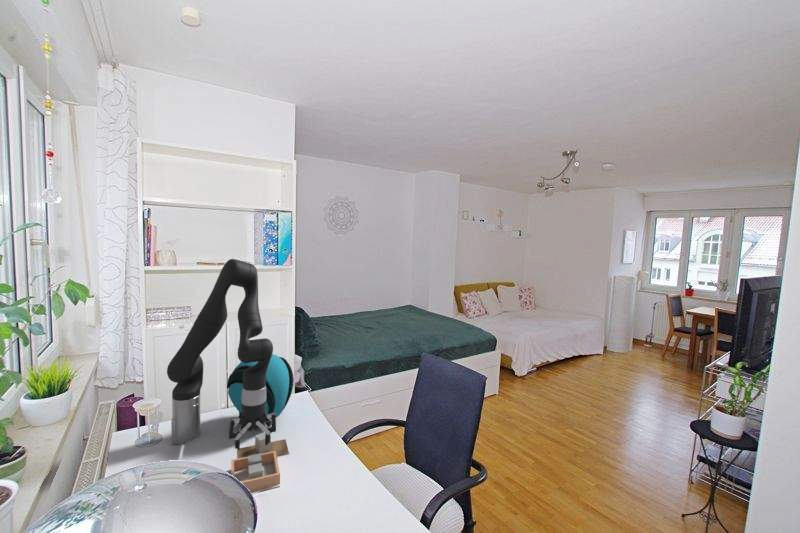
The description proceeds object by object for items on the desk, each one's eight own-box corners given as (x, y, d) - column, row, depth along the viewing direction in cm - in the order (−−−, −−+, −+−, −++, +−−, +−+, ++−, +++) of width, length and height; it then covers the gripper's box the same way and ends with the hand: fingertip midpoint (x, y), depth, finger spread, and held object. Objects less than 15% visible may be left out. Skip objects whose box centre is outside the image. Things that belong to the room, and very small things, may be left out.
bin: (231, 499, 108) (231, 485, 107) (231, 472, 119) (231, 460, 119) (279, 487, 114) (280, 474, 113) (275, 462, 125) (275, 450, 125)
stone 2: (248, 480, 115) (248, 465, 115) (261, 477, 117) (261, 462, 116) (249, 488, 111) (249, 473, 111) (262, 485, 113) (262, 470, 113)
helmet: (303, 420, 154) (305, 353, 152) (257, 446, 134) (258, 370, 131) (263, 403, 168) (264, 341, 165) (216, 425, 147) (216, 354, 144)
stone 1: (247, 469, 120) (247, 455, 119) (260, 467, 122) (260, 453, 121) (248, 477, 116) (248, 463, 116) (261, 474, 118) (261, 460, 118)
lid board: (237, 468, 122) (237, 465, 121) (237, 451, 131) (237, 448, 130) (289, 457, 129) (289, 454, 129) (285, 442, 138) (285, 439, 138)
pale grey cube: (259, 453, 128) (260, 440, 128) (255, 448, 131) (255, 435, 130) (270, 449, 131) (270, 436, 131) (265, 444, 134) (265, 431, 133)
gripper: (275, 391, 122) (274, 436, 124) (230, 397, 116) (228, 444, 118) (278, 401, 115) (276, 448, 117) (229, 407, 110) (228, 457, 111)
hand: (252, 446), depth 117 cm, fingers open, 8 cm apart
